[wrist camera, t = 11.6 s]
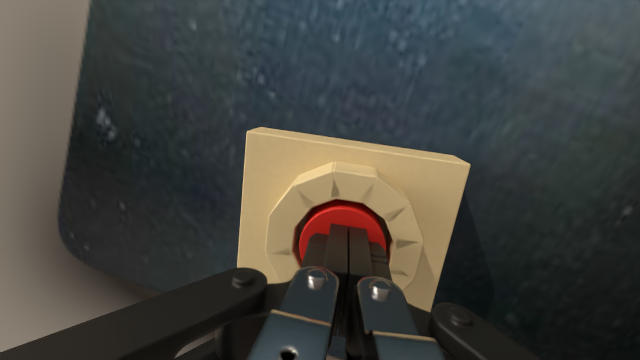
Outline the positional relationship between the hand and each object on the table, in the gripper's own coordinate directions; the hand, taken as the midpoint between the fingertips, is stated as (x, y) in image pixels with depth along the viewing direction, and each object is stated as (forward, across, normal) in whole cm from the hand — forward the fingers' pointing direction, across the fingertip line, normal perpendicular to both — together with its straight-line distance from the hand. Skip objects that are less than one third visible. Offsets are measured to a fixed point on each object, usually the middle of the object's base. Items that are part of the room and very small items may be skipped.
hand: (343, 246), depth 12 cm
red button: (+2, 0, 0) cm, 2 cm away
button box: (+4, 0, 0) cm, 4 cm away
